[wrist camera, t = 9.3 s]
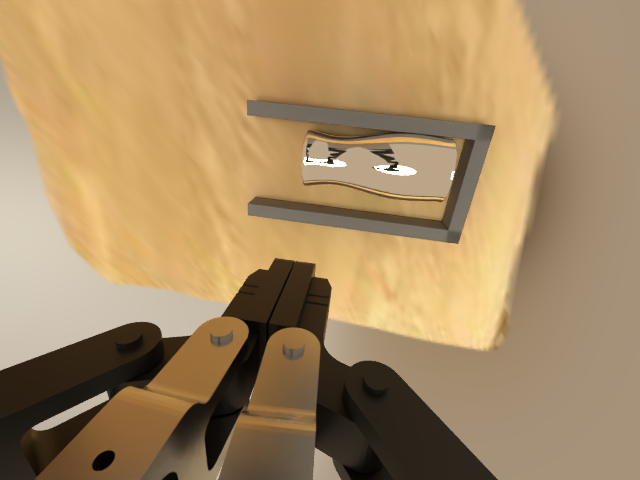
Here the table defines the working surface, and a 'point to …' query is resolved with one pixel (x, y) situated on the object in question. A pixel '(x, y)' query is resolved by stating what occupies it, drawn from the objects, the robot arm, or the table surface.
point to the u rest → (376, 222)
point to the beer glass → (382, 164)
